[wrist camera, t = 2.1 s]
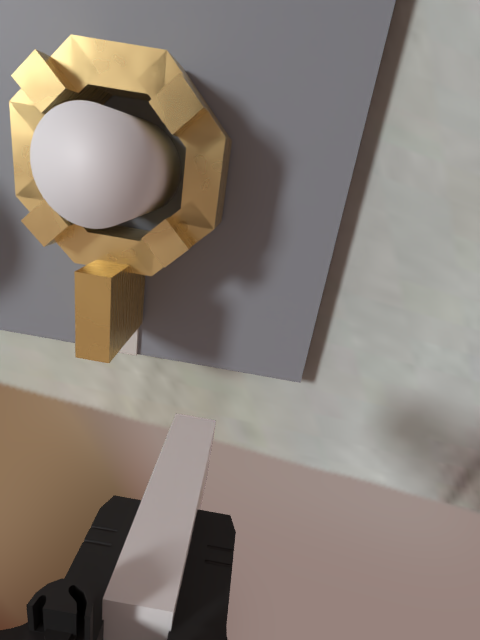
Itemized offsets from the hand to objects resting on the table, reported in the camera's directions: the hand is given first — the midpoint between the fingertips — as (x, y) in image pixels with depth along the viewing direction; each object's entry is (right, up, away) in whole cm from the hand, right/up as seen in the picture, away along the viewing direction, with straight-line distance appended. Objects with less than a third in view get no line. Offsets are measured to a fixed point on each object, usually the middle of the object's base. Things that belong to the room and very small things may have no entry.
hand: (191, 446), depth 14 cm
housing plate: (-4, +14, +9) cm, 17 cm away
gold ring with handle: (-4, +11, +8) cm, 15 cm away
